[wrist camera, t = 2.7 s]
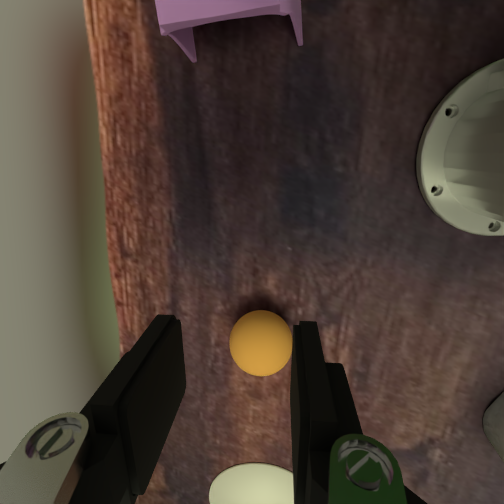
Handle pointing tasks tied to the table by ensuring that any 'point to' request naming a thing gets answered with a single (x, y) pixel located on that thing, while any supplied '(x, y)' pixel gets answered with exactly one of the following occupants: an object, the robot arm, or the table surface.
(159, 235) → the table surface
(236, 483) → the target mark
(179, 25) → the toy chair
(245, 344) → the ball
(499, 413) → the pillar candle
